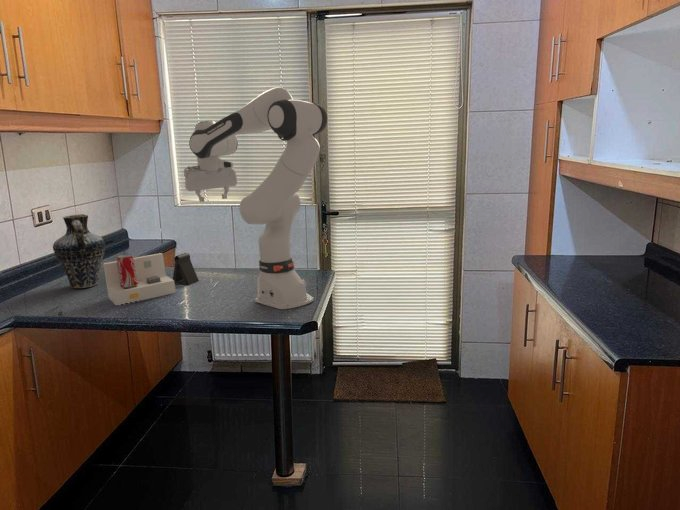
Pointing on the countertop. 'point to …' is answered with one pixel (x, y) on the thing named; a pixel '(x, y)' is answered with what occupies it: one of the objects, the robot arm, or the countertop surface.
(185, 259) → the dark grey wedge
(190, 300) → the countertop surface
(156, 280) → the breaker
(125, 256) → the beverage can
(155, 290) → the white stepped stand
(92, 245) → the dark grey patterned vase
